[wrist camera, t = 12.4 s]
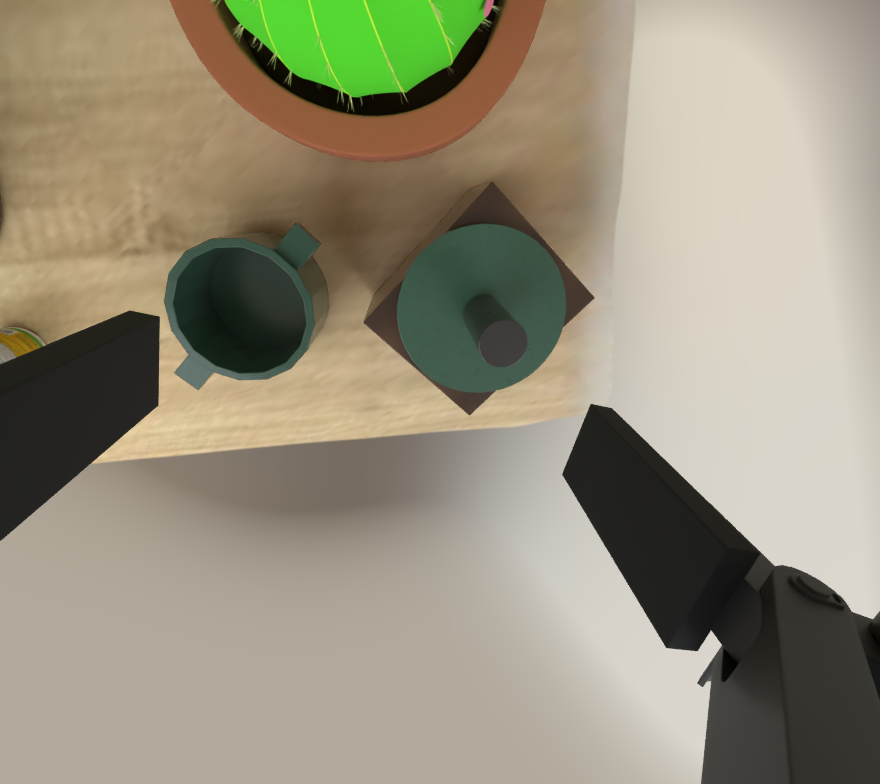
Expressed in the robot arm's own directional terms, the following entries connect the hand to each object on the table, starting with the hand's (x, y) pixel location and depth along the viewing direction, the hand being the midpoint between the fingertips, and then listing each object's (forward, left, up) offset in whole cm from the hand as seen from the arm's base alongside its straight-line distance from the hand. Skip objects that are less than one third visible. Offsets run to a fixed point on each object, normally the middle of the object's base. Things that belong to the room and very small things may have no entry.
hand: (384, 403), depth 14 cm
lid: (+6, +3, -22) cm, 23 cm away
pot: (-8, -11, -33) cm, 36 cm away
